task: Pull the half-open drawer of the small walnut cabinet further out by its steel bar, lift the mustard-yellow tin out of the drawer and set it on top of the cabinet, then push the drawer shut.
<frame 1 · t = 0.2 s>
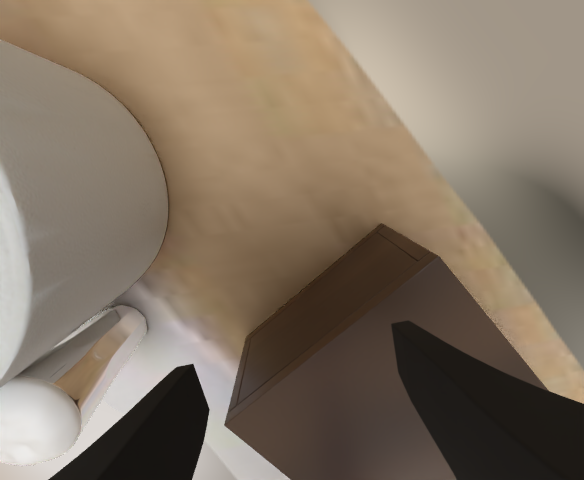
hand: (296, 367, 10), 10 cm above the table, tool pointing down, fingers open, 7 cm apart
toilet paper roll: (52, 194, 18), on the table, touching milkshake
cabinet: (368, 343, 21), on the table
milkshake: (121, 324, 21), on the table, touching toilet paper roll
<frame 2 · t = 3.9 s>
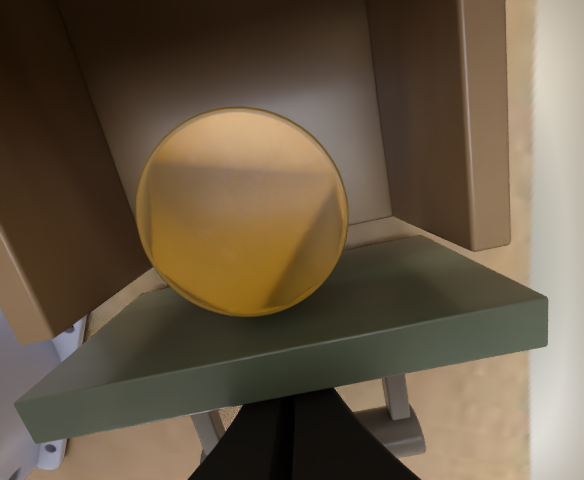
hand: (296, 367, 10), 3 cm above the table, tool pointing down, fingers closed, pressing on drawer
drawer: (255, 211, 8), point 4 cm above the table, slide at 6.9 cm, touching gripper, tin
tin: (260, 200, 10), point 2 cm above the table, touching drawer
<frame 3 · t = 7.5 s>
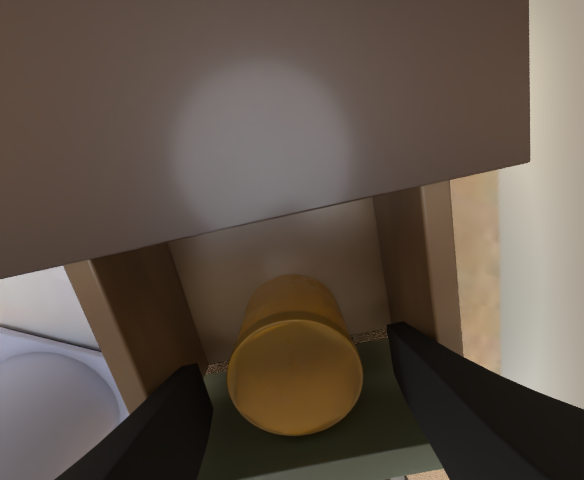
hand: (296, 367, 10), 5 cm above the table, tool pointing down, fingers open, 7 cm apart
drawer: (294, 343, 11), point 4 cm above the table, slide at 8.4 cm, touching gripper, tin
cabinet: (229, 40, 12), on the table
tin: (292, 318, 13), point 2 cm above the table, touching drawer
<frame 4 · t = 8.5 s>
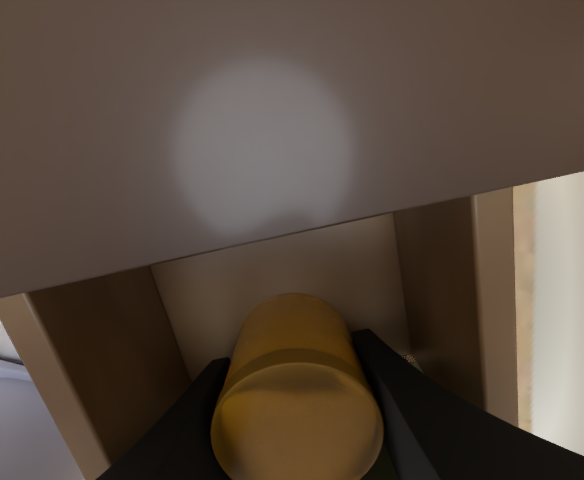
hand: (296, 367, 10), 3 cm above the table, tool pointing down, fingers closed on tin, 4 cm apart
drawer: (296, 379, 9), point 4 cm above the table, slide at 8.4 cm, touching tin
cabinet: (219, 14, 10), on the table
tin: (294, 344, 11), point 2 cm above the table, touching drawer, gripper
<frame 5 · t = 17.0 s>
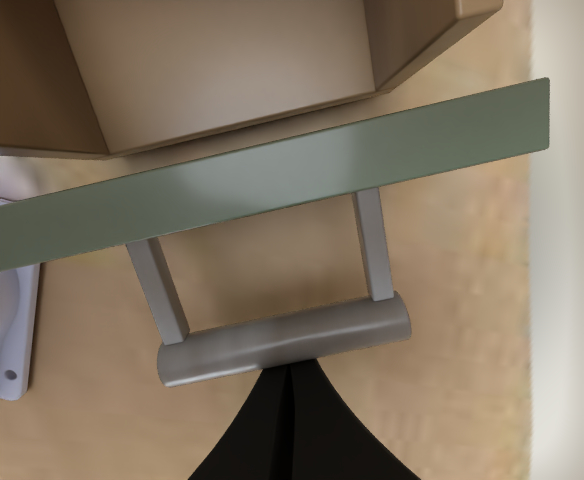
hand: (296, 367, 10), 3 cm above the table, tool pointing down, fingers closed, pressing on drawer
drawer: (213, 52, 7), point 4 cm above the table, slide at 7.3 cm, touching gripper
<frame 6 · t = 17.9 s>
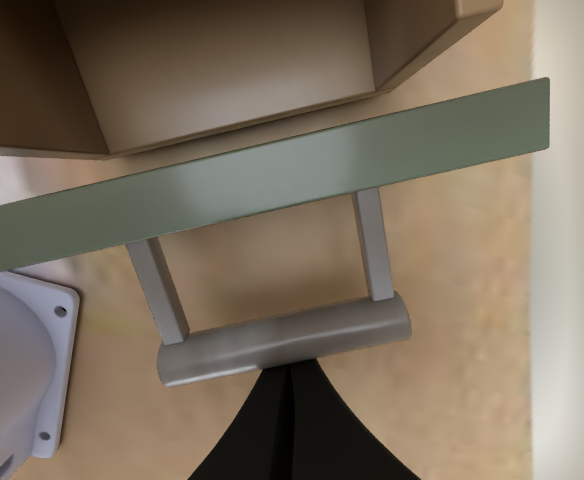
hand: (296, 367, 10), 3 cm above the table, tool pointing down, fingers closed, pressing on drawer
drawer: (213, 52, 7), point 4 cm above the table, slide at 3.7 cm, touching gripper
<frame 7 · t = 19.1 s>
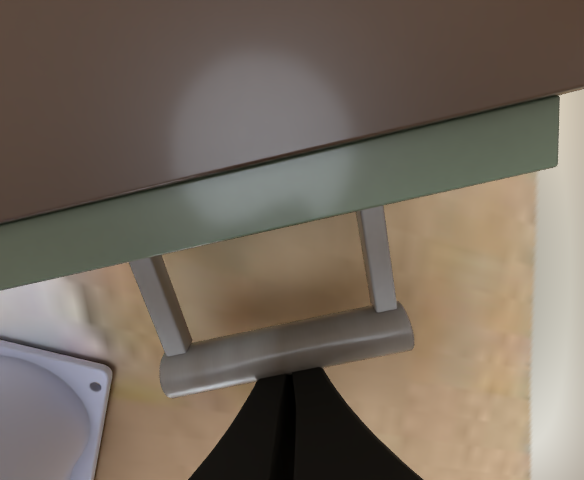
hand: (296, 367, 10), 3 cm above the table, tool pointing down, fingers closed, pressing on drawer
drawer: (214, 61, 7), point 4 cm above the table, slide at 0.0 cm, touching cabinet, gripper
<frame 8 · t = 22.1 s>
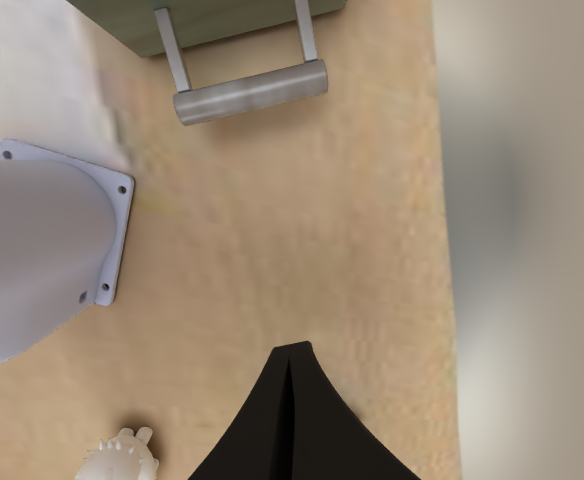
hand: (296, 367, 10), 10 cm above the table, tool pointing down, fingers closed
toy creature: (140, 443, 24), on the table
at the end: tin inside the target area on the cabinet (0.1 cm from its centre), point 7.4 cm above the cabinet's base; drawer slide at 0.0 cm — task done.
